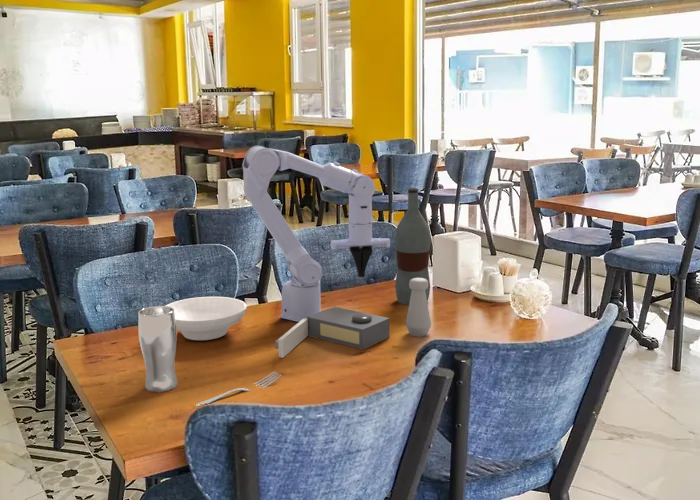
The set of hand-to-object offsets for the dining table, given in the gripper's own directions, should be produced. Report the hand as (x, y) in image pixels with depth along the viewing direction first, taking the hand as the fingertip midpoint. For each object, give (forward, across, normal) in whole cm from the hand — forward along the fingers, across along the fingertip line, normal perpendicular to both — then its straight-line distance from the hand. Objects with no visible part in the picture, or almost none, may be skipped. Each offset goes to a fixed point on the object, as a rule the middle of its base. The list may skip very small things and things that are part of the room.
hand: (361, 276), depth 186 cm
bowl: (+10, +38, +13) cm, 41 cm away
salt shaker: (+10, -11, +19) cm, 24 cm away
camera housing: (+9, +6, +18) cm, 21 cm away
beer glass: (+10, +44, +42) cm, 62 cm away
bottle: (+10, -15, -8) cm, 19 cm away
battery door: (+9, +19, +23) cm, 31 cm away
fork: (+10, +32, +49) cm, 59 cm away
